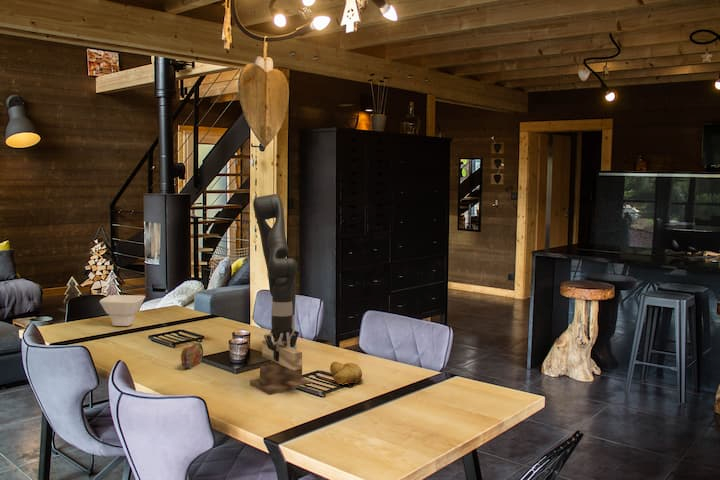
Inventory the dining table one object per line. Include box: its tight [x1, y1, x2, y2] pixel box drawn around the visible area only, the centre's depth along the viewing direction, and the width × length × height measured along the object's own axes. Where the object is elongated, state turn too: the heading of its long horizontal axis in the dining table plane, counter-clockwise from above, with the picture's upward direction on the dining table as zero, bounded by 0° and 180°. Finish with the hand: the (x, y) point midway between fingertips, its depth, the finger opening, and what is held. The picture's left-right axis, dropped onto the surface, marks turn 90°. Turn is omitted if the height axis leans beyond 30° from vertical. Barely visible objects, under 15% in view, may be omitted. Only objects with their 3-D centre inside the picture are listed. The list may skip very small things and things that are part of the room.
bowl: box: [99, 294, 146, 327], centre depth 332 cm, size 19×19×14 cm
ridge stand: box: [249, 362, 313, 395], centre depth 241 cm, size 18×14×8 cm
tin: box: [180, 342, 204, 369], centre depth 264 cm, size 15×3×8 cm, turn 168°
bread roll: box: [329, 361, 363, 384], centre depth 247 cm, size 13×10×8 cm
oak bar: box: [261, 339, 303, 370], centre depth 241 cm, size 4×22×6 cm, turn 38°
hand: (281, 359), depth 241 cm, fingers closed on oak bar, 3 cm apart
